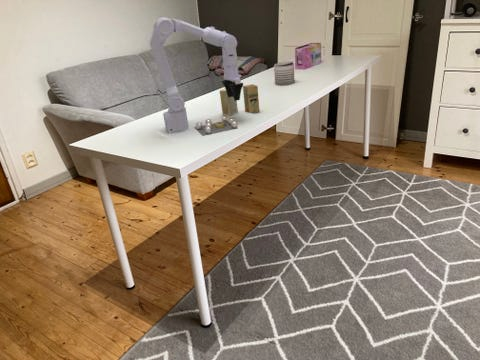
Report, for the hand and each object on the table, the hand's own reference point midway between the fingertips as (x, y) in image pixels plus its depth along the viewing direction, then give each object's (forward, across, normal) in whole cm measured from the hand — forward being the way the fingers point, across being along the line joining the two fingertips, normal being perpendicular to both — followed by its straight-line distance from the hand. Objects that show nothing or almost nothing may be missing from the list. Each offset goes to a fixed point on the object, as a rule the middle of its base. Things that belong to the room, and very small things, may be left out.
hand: (233, 98), depth 165 cm
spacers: (+9, -6, +11) cm, 15 cm away
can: (+10, +49, -49) cm, 70 cm away
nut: (+9, -6, +9) cm, 14 cm away
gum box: (+10, +86, -87) cm, 123 cm away
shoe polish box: (+10, +8, -11) cm, 17 cm away
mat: (+10, -6, +11) cm, 16 cm away
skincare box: (+10, +10, -1) cm, 14 cm away
